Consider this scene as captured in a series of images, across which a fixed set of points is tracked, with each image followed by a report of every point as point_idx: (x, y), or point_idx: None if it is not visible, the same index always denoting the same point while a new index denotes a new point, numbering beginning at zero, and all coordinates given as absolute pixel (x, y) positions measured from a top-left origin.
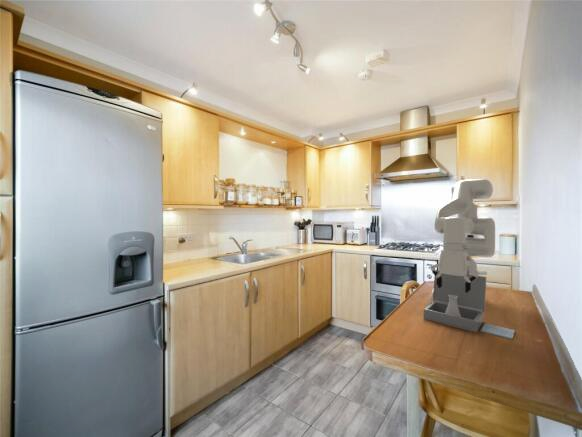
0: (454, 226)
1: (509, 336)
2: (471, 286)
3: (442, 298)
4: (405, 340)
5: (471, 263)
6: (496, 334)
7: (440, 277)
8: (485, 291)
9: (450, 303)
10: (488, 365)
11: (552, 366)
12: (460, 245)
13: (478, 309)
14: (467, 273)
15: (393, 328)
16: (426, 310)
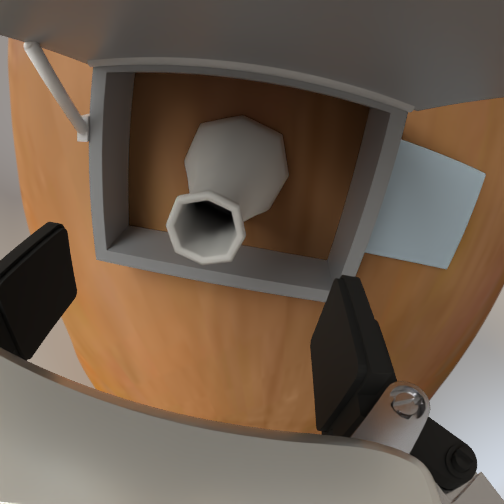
0: None
1: (444, 258)
2: (418, 18)
3: (128, 50)
4: (155, 398)
5: None
6: (407, 259)
7: (3, 336)
8: None
9: (202, 226)
10: None
11: (447, 367)
12: None
13: (390, 101)
14: (421, 481)
15: (100, 357)
16: (110, 260)
